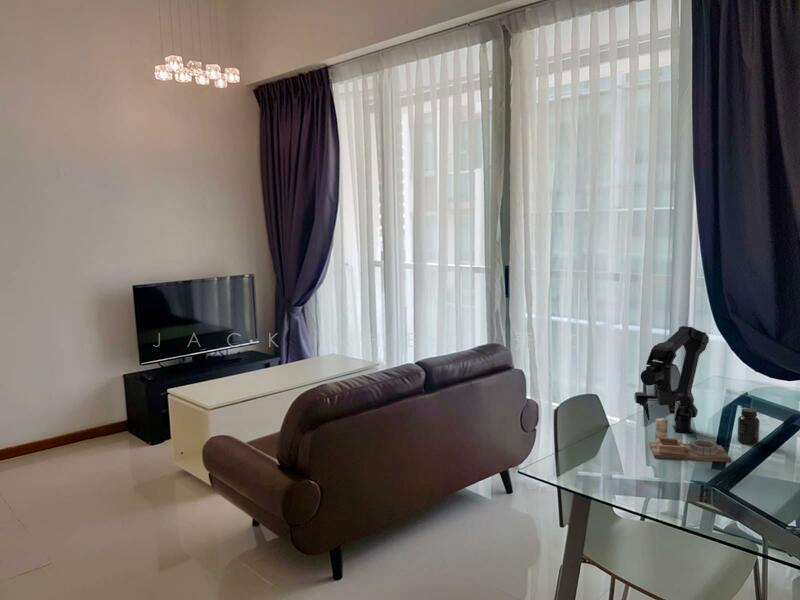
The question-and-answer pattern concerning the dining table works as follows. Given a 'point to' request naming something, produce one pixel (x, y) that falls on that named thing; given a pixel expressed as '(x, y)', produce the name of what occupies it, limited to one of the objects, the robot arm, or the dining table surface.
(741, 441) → the supplement bottle
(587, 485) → the dining table surface
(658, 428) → the round peg
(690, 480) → the dining table surface
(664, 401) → the robot arm
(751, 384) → the dining table surface
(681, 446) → the socket board
